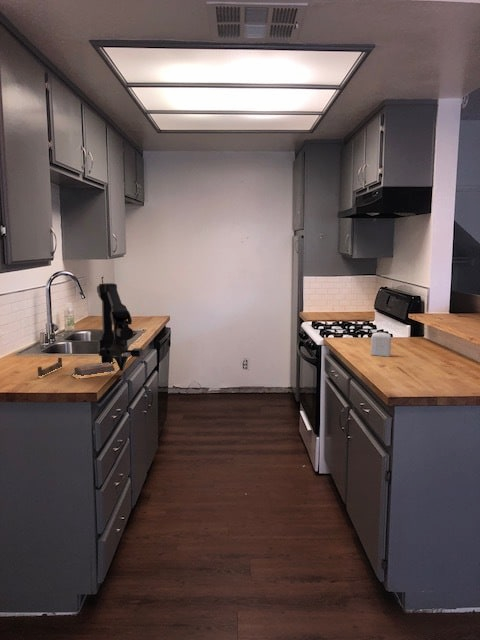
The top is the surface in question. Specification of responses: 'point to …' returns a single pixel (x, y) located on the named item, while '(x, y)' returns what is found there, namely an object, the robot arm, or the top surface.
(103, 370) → the packaged product
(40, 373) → the stop board
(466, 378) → the top surface
